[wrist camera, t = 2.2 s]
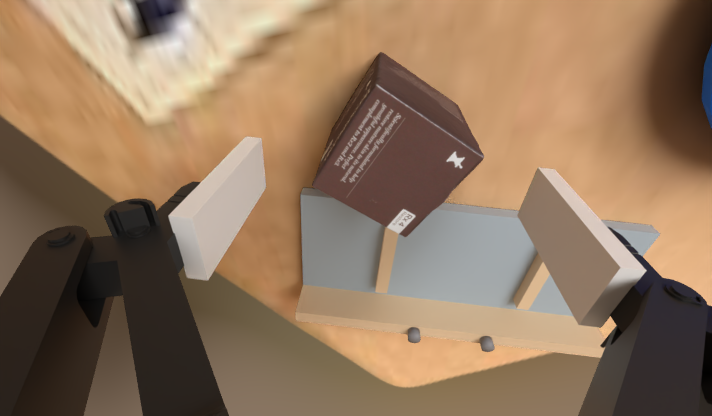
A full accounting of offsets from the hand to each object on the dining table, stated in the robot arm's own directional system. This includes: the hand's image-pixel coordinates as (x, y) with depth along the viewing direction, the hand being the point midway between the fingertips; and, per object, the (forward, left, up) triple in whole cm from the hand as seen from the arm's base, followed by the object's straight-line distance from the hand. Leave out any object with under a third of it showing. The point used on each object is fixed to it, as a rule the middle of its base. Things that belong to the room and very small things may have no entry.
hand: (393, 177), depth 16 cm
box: (0, 0, -7) cm, 7 cm away
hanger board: (+11, +7, -7) cm, 15 cm away
